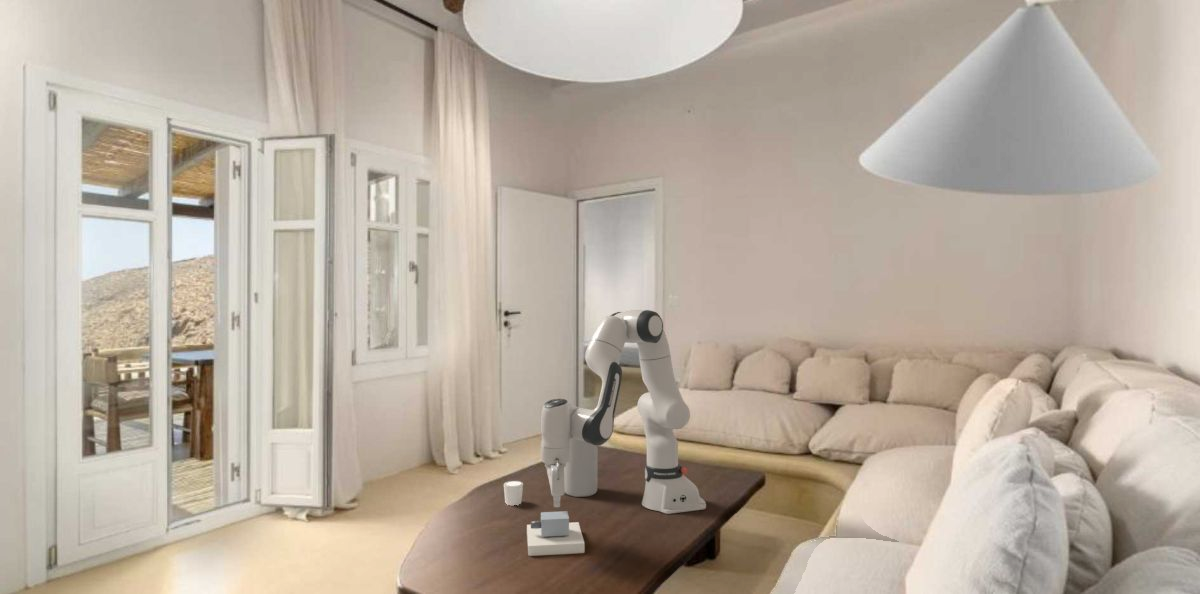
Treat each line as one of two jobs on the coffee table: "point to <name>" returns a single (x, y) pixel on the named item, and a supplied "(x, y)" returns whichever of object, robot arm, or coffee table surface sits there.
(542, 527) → the plug
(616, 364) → the robot arm
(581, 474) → the cylinder vase
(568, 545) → the socket plate
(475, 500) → the coffee table surface
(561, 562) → the coffee table surface
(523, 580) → the coffee table surface
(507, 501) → the shot glass
